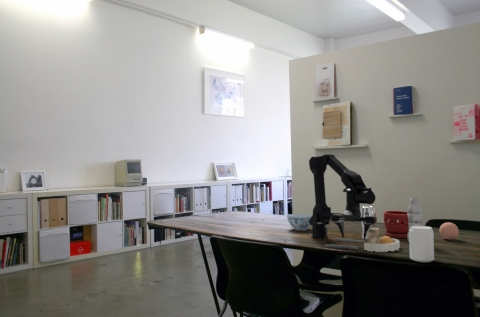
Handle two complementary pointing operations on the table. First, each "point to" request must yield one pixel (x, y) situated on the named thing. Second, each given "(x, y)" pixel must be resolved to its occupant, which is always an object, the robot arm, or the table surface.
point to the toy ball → (449, 231)
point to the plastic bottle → (414, 214)
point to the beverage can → (421, 243)
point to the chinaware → (299, 221)
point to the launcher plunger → (373, 236)
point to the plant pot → (396, 224)
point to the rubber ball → (386, 240)
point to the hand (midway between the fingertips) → (353, 238)
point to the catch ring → (383, 246)
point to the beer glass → (364, 212)
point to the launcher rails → (345, 241)
